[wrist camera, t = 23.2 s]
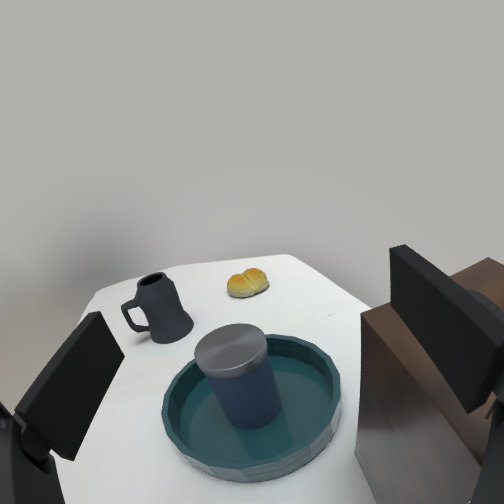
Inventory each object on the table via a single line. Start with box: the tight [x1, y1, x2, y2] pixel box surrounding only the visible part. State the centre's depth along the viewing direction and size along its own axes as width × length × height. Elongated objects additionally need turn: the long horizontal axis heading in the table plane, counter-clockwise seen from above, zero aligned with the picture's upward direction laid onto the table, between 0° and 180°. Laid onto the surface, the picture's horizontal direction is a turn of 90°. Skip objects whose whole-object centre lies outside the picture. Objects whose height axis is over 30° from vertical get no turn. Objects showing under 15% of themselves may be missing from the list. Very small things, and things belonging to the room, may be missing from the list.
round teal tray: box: [161, 334, 341, 482], centre depth 29 cm, size 21×21×4 cm
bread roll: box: [227, 268, 269, 297], centre depth 60 cm, size 8×9×4 cm
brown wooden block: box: [355, 257, 504, 504], centre depth 12 cm, size 12×12×18 cm
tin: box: [194, 324, 281, 429], centre depth 28 cm, size 7×7×10 cm
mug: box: [121, 272, 194, 344], centre depth 49 cm, size 12×9×11 cm
